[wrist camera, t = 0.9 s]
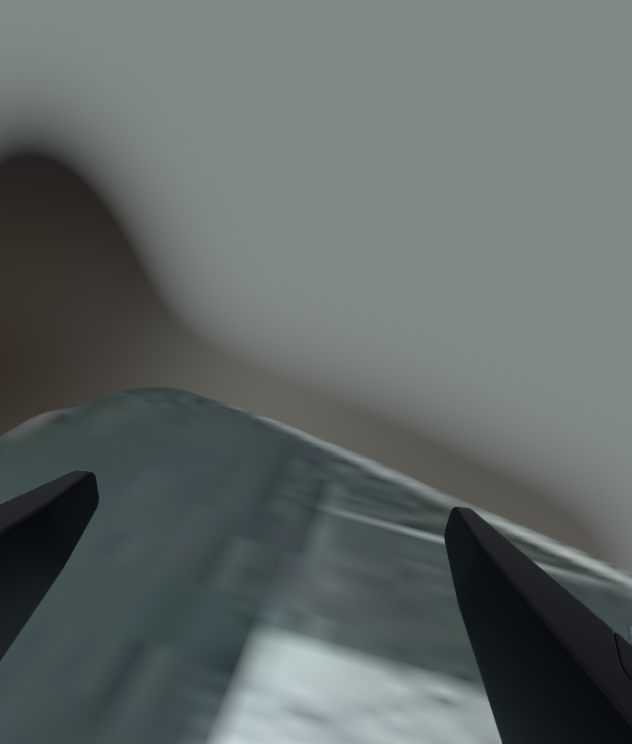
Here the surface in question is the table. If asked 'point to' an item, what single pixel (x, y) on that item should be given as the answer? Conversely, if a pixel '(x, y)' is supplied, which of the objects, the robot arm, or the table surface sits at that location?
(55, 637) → the table surface
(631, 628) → the square mounting plate
